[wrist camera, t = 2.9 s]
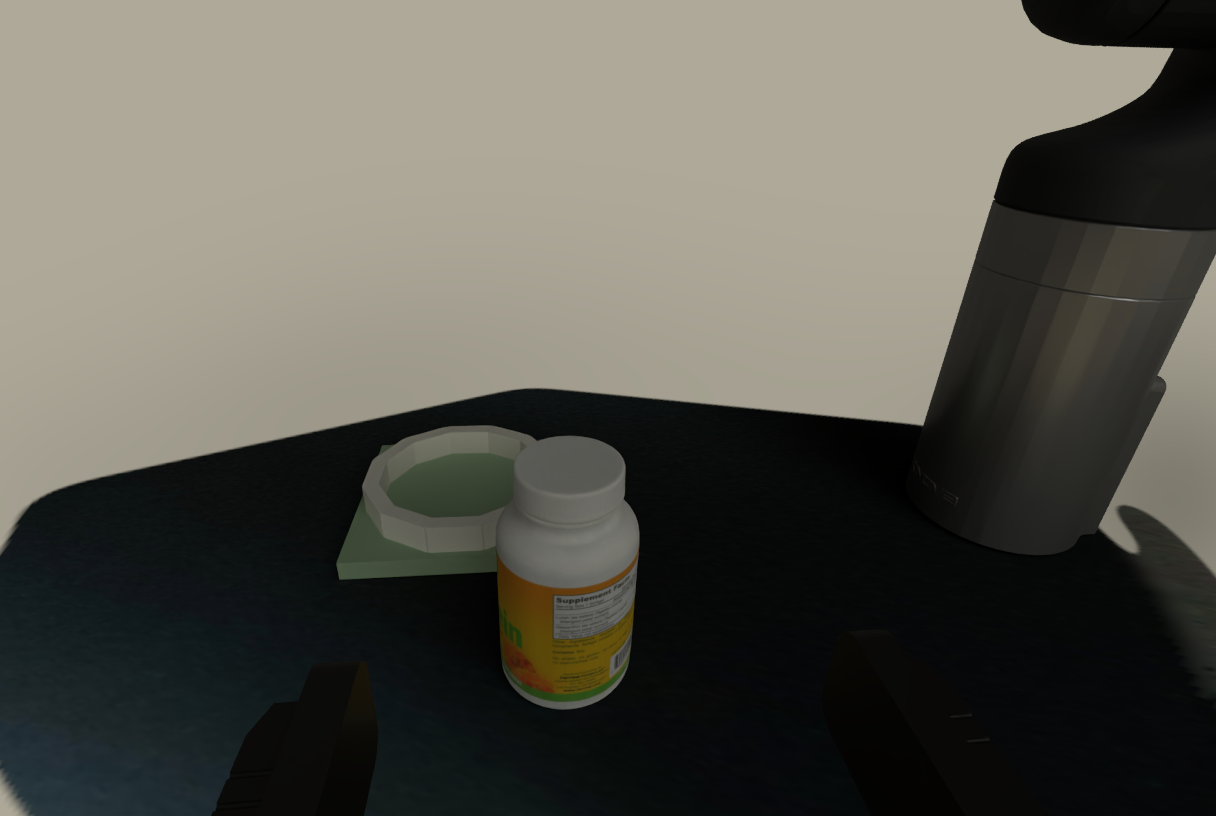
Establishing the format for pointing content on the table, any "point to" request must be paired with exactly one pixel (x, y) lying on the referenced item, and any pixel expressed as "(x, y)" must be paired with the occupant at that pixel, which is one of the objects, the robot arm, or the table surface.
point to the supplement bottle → (566, 573)
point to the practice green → (433, 504)
